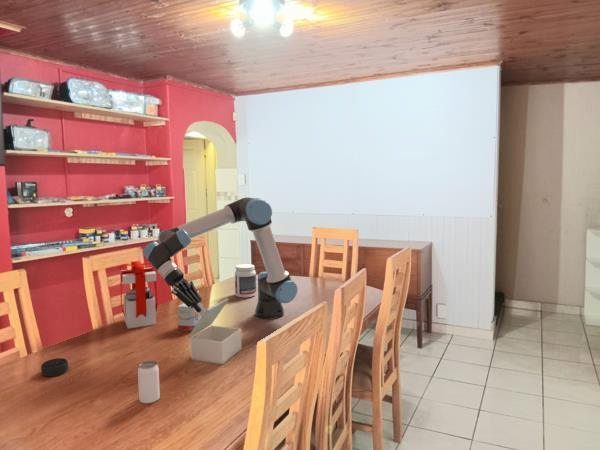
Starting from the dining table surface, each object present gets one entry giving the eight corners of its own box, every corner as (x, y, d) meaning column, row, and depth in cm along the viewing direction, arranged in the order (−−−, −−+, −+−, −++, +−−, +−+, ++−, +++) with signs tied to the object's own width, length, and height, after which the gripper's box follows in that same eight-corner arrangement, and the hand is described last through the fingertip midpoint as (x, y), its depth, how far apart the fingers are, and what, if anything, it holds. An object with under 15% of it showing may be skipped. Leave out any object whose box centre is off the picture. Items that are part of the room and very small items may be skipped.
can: (142, 394, 151) (140, 360, 149) (161, 394, 151) (160, 359, 150) (136, 404, 144) (135, 369, 143) (157, 403, 145) (155, 368, 144)
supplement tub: (260, 294, 275) (260, 265, 273) (247, 299, 264) (246, 268, 262) (244, 291, 282) (243, 262, 280) (230, 296, 271) (230, 266, 269)
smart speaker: (50, 379, 162) (49, 369, 162) (36, 374, 167) (35, 363, 167) (73, 370, 170) (72, 360, 169) (60, 365, 174) (59, 355, 174)
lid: (189, 337, 178) (188, 336, 178) (211, 324, 193) (210, 323, 193) (208, 310, 173) (206, 309, 173) (229, 299, 189) (227, 297, 189)
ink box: (194, 331, 211) (193, 307, 209) (177, 330, 213) (176, 306, 211) (201, 325, 219) (201, 302, 218) (185, 324, 221) (184, 301, 220)
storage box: (191, 359, 179) (191, 338, 178) (212, 345, 194) (211, 325, 193) (222, 364, 174) (222, 342, 173) (241, 349, 189) (241, 328, 188)
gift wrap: (124, 330, 213) (120, 268, 209) (120, 320, 228) (117, 262, 224) (160, 324, 220) (158, 264, 217) (154, 315, 236) (152, 259, 232)
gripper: (175, 276, 194) (209, 317, 190) (155, 282, 182) (192, 327, 178) (185, 264, 192) (220, 306, 188) (166, 271, 180) (203, 315, 176)
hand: (206, 316), depth 183 cm, fingers closed
